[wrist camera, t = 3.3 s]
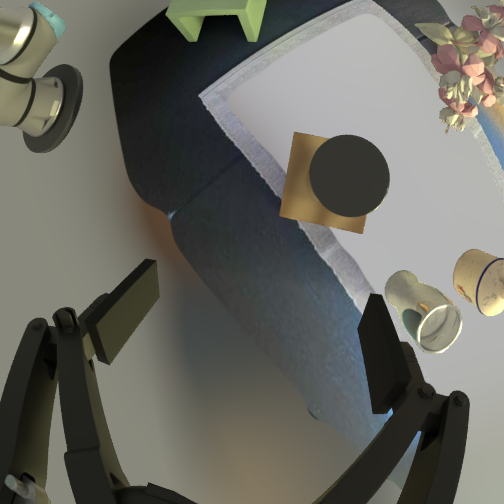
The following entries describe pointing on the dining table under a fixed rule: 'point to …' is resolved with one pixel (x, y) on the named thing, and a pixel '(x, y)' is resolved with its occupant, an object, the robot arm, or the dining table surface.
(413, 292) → the beer glass
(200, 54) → the dining table surface
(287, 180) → the low shelf
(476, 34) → the flower
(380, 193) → the dark grey cylinder
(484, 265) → the teacup with lid
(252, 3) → the green step stool
